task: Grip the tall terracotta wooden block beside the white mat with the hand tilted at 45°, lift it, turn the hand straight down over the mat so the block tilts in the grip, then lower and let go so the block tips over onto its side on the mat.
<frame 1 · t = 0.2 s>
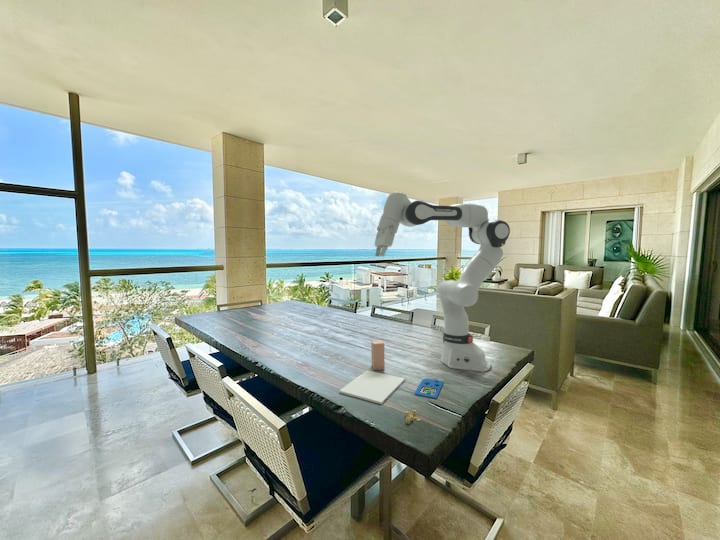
hand: (379, 256, 132), 52 cm above the table, tool tilted 20°, fingers open, 8 cm apart
white mat: (373, 386, 117), on the table
terracotta block: (378, 367, 136), on the table
popcorn pieces: (411, 420, 95), on the table
handheld gaming device: (429, 389, 115), on the table
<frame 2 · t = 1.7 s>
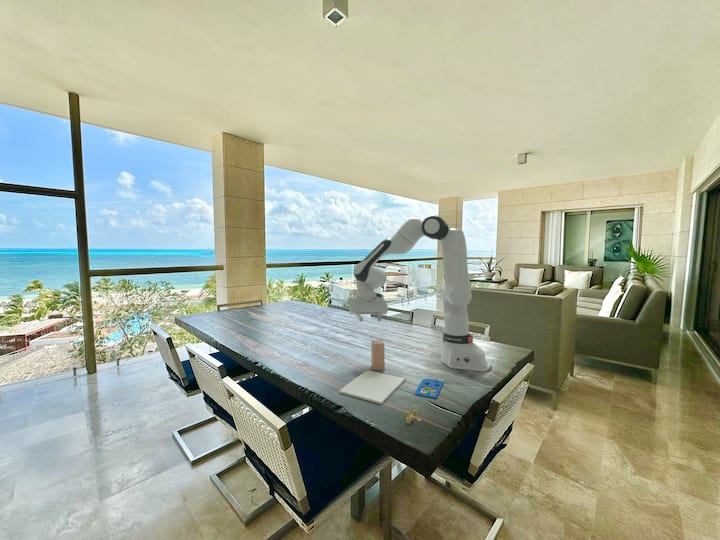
hand: (370, 321, 146), 19 cm above the table, tool tilted 45°, fingers open, 8 cm apart
nothing on the table moved.
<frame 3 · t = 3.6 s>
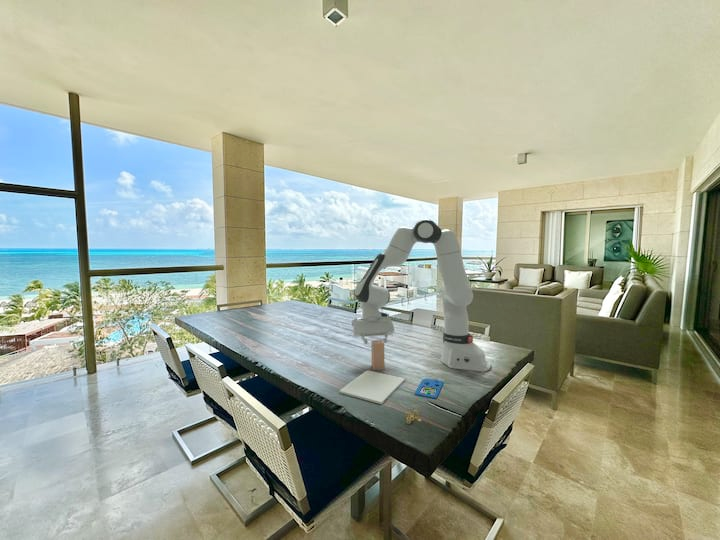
hand: (375, 343, 140), 10 cm above the table, tool tilted 45°, fingers open, 8 cm apart
nothing on the table moved.
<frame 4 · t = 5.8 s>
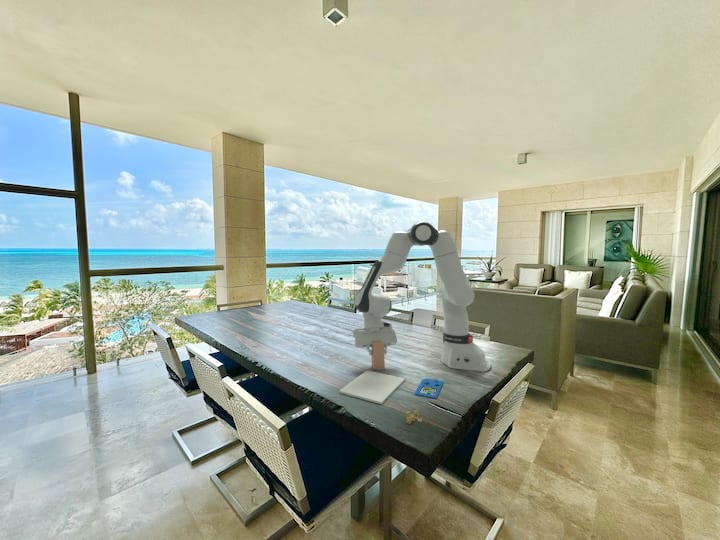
hand: (378, 354, 135), 6 cm above the table, tool tilted 45°, fingers closed on terracotta block, 5 cm apart
terracotta block: (378, 367, 136), on the table, touching gripper
everything else where it was.
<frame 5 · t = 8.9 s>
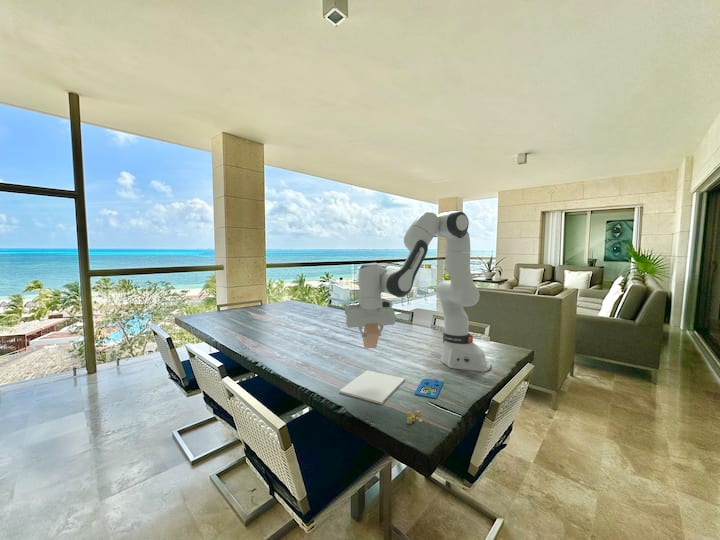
hand: (371, 336, 120), 19 cm above the table, tool pointing down, fingers closed on terracotta block, 5 cm apart
terracotta block: (369, 342, 125), point 15 cm above the table, tilted 44°, touching gripper
everything else where it was.
when the fingers open (8 cm above the table, at t = 12.0 s): terracotta block moves 2 cm and tips over, resting on white mat.
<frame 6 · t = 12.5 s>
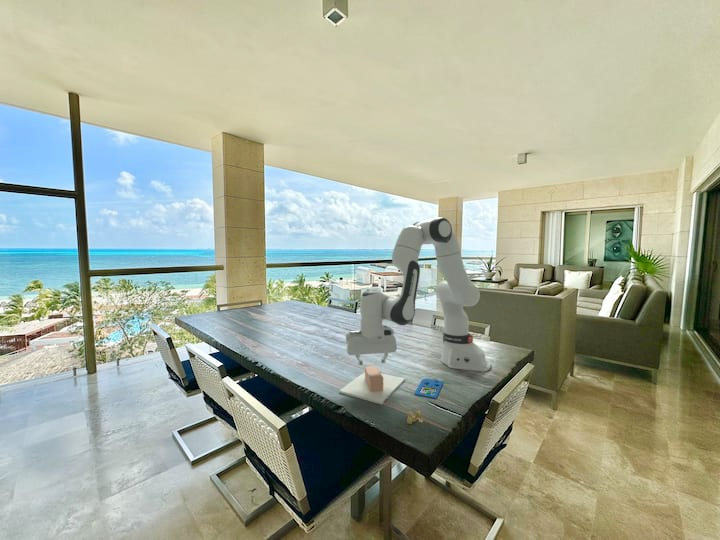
hand: (371, 363, 120), 8 cm above the table, tool pointing down, fingers open, 8 cm apart
terracotta block: (370, 372, 123), point 3 cm above the table, tilted 90°, touching white mat
everything else where it was.
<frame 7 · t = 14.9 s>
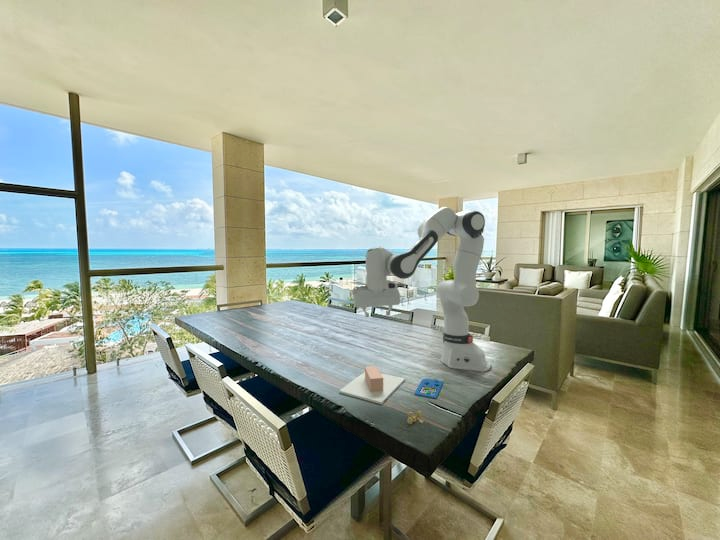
hand: (377, 316, 128), 26 cm above the table, tool pointing down, fingers open, 8 cm apart
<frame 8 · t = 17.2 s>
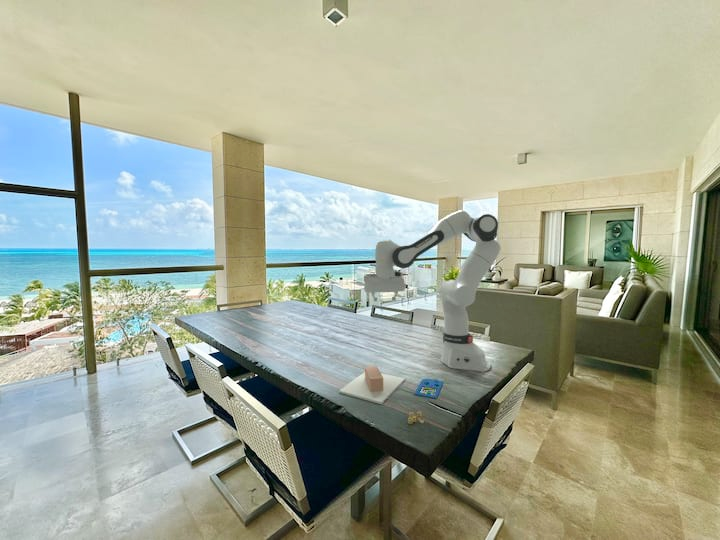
hand: (384, 300, 146), 29 cm above the table, tool pointing down, fingers open, 8 cm apart
at the end: terracotta block tilted 90°; terracotta block inside the target area on the white mat (6.0 cm from its centre), point 3.3 cm above the white mat's base; terracotta block touching white mat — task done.
